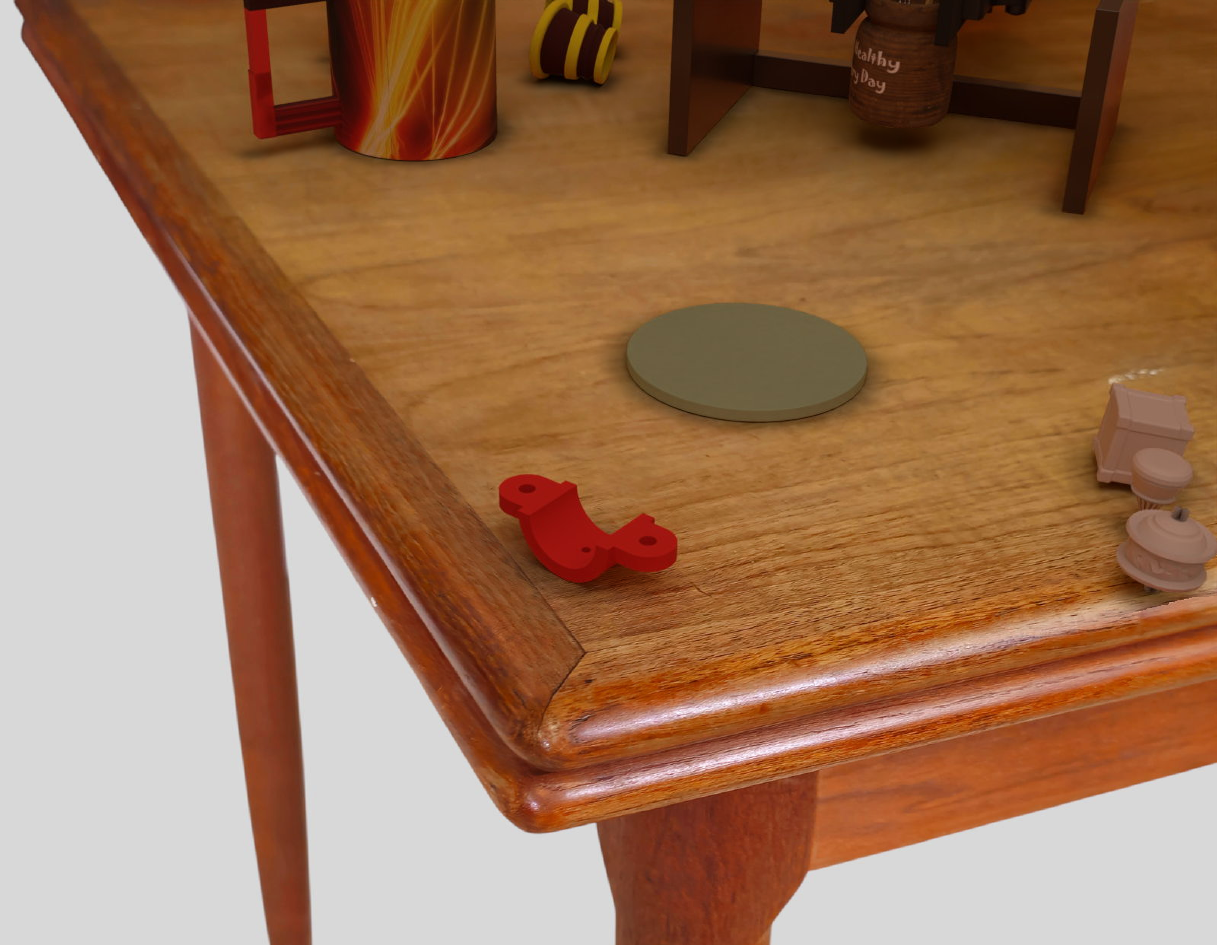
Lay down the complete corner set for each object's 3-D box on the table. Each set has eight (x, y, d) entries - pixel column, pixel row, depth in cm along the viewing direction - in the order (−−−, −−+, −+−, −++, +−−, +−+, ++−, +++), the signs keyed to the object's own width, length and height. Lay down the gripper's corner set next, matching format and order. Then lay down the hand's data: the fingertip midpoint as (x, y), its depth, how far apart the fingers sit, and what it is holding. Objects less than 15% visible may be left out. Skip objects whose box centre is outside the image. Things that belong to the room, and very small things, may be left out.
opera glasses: (603, 104, 115) (620, 27, 112) (522, 84, 114) (537, 7, 112) (614, 57, 123) (630, -16, 120) (538, 38, 122) (552, -35, 120)
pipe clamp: (529, 464, 71) (530, 512, 72) (481, 494, 69) (483, 542, 70) (694, 534, 67) (692, 583, 68) (647, 567, 65) (646, 617, 66)
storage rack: (739, 77, 117) (750, -101, 111) (1115, 127, 111) (1149, -58, 105) (667, 153, 105) (675, -41, 99) (1083, 214, 99) (1119, 11, 93)
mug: (250, 156, 104) (229, -61, 97) (404, 94, 113) (396, -108, 106) (380, 194, 99) (368, -30, 92) (529, 126, 109) (528, -82, 102)
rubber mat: (909, 401, 80) (910, 389, 80) (680, 438, 77) (680, 425, 77) (802, 301, 89) (804, 289, 89) (592, 331, 86) (592, 319, 85)
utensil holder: (917, 92, 110) (944, -115, 103) (968, 128, 105) (1001, -87, 98) (829, 101, 108) (851, -110, 101) (878, 137, 103) (904, -81, 96)
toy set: (1192, 390, 75) (1164, 466, 77) (1110, 374, 75) (1084, 451, 77) (1235, 542, 65) (1201, 625, 67) (1141, 523, 65) (1110, 607, 67)
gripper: (1102, -6, 116) (1048, 104, 98) (827, -38, 121) (727, 62, 103) (1123, -130, 112) (1070, -38, 94) (838, -157, 117) (735, -75, 99)
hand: (891, 14), depth 98 cm, fingers closed on utensil holder, 5 cm apart
